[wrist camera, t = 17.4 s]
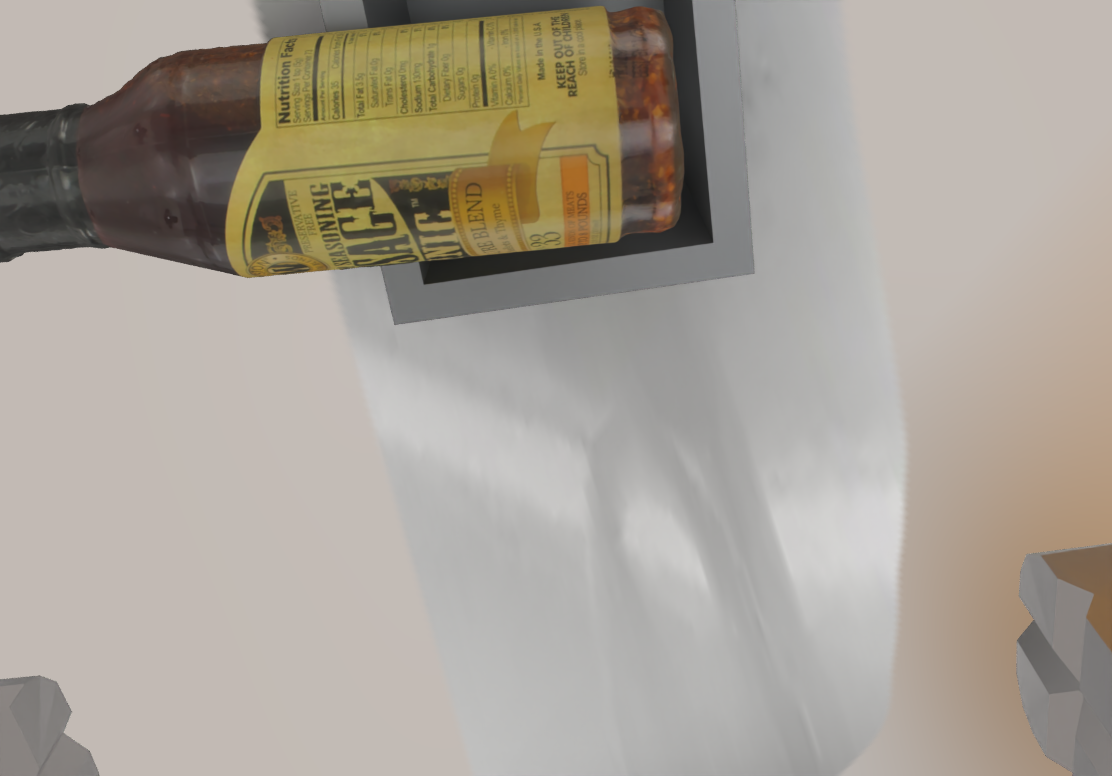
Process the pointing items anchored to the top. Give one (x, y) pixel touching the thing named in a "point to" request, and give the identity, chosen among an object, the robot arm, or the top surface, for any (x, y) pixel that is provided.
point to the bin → (638, 258)
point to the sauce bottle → (363, 147)
